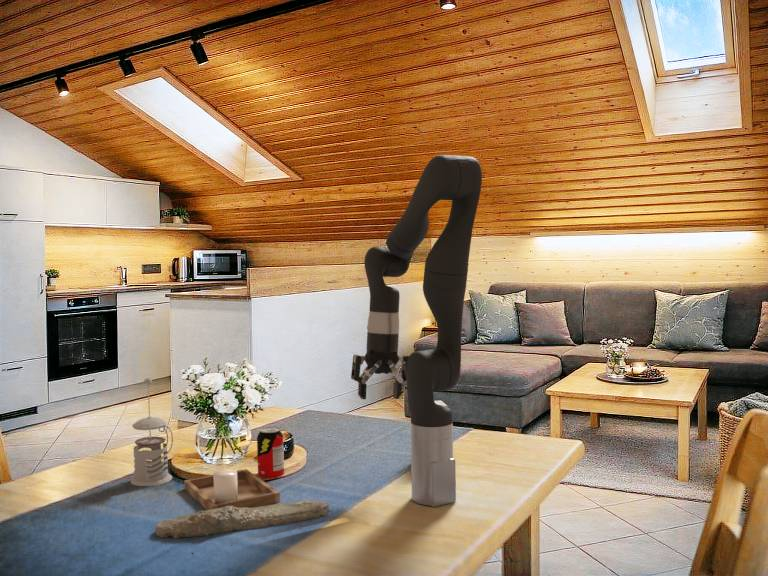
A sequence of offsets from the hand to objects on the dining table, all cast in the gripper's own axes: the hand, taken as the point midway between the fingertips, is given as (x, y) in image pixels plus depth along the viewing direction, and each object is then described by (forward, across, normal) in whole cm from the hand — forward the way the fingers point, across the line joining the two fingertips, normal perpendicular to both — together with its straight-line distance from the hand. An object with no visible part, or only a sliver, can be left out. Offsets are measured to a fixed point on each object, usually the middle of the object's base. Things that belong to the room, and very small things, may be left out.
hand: (379, 398), depth 176 cm
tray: (+22, -34, +1) cm, 41 cm away
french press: (+23, -49, +24) cm, 59 cm away
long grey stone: (+23, -34, -16) cm, 44 cm away
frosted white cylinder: (+22, -36, -5) cm, 42 cm away
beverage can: (+22, -22, +12) cm, 33 cm away
